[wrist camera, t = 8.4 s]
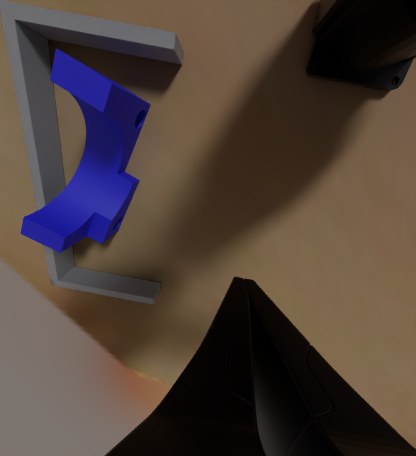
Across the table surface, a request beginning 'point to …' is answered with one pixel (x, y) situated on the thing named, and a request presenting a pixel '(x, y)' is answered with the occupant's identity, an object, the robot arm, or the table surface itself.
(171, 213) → the table surface
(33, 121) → the bracket
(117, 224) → the blue cradle mount
